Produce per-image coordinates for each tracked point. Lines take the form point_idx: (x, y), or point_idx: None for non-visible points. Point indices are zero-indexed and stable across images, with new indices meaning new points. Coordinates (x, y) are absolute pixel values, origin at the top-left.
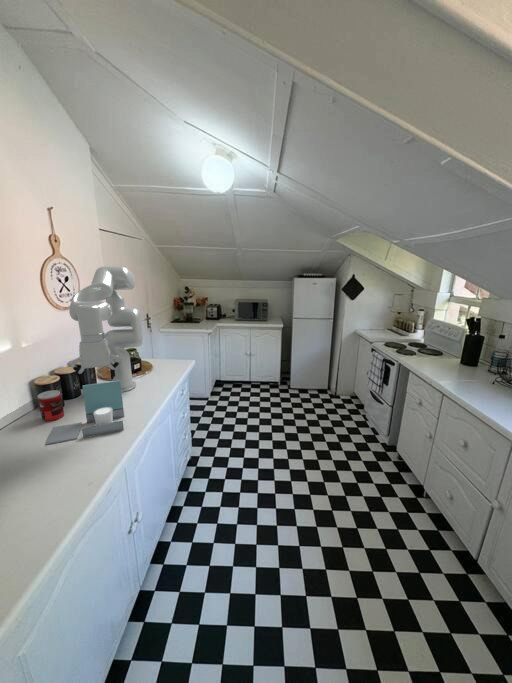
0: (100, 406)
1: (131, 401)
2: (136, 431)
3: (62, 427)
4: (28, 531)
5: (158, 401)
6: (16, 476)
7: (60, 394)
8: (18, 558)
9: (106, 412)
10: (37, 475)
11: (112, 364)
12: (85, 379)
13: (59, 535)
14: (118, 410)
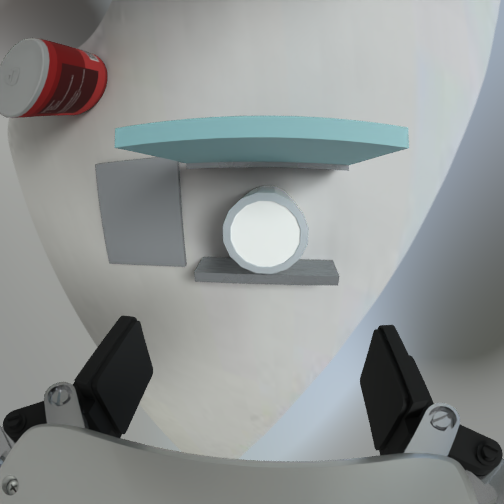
0: (246, 159)
1: (366, 35)
2: (368, 291)
3: (121, 176)
4: (192, 444)
5: (464, 99)
6: None
7: (52, 62)
8: None
9: (282, 255)
10: None
11: (439, 452)
12: (138, 356)
13: (230, 457)
14: (326, 168)
